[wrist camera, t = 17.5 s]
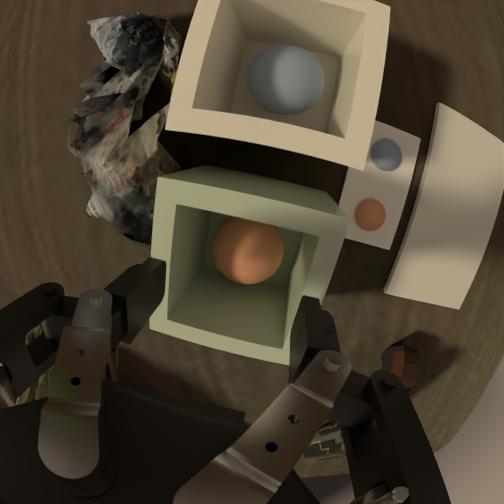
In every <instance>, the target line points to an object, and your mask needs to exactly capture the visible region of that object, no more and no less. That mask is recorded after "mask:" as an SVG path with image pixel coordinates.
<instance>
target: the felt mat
mask: <svg viewBox="0 0 504 504" xmlns="http://www.w3.org/2000/svg"><path fill="white" fill-rule="evenodd" d="M503 190H504V143H503V142H502V141H500V140H499V139H498V138H496V137H495V136H494V135H492V134H491V133H489V132H488V131H486V130H485V129H483V128H482V127H480V126H479V125H477V124H476V123H474V122H473V121H471V120H470V119H468V118H466V117H465V116H463V115H461V114H460V113H458V112H456V111H455V110H453V109H451V108H449V107H447V106H446V105H444V104H442V103H436V109H435V116H434V122H433V128H432V133H431V139H430V144H429V149H428V153H427V158H426V162H425V167H424V171H423V175H422V179H421V182H420V186H419V190H418V194H417V197H416V201H415V204H414V207H413V211H412V214H411V217H410V220H409V223H408V226H407V229H406V232H405V235H404V238H403V241H402V244H401V246H400V249H399V252H398V255H397V257H396V260H395V262H394V265H393V268H392V270H391V273H390V275H389V278H388V280H387V282H386V285H385V287H384V289H383V290H384V292H385V293H386V294H390V295H395V296H399V297H404V298H408V299H413V300H417V301H422V302H427V303H431V304H436V305H441V306H445V307H450V308H455V309H459V308H460V306H461V304H462V302H463V300H464V298H465V296H466V294H467V292H468V290H469V288H470V286H471V284H472V281H473V279H474V277H475V275H476V272H477V270H478V267H479V265H480V263H481V260H482V258H483V255H484V252H485V250H486V247H487V244H488V241H489V238H490V236H491V233H492V230H493V226H494V223H495V220H496V217H497V213H498V210H499V206H500V202H501V198H502V194H503Z"/></svg>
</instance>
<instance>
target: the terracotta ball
mask: <svg viewBox="0 0 504 504" xmlns="http://www.w3.org/2000/svg"><path fill="white" fill-rule="evenodd" d="M283 253H284V245H283V239H282V236H281V234H280V232H279V230H278V229H277V227H276V226H274V225H270V224H266V223H262V222H257V221H253V220H248V219H244V218H240V217H235V216H233V217H231V218H230V219H228V220H227V221H225V222H224V223H223V224H222V225H221V227H220V228H219V229H218V231H217V233H216V235H215V238H214V242H213V256H214V260H215V263H216V265H217V267H218V268H219V270H220V271H221V272H222V273H223V274H224V275H225V276H226V277H227V278H229V279H230V280H232V281H234V282H237V283H241V284H255V283H259V282H262V281H264V280H266V279H268V278H269V277H270V276H272V275H273V274H274V273H275V272H276V270H277V269H278V267H279V266H280V264H281V261H282V258H283Z"/></svg>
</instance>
